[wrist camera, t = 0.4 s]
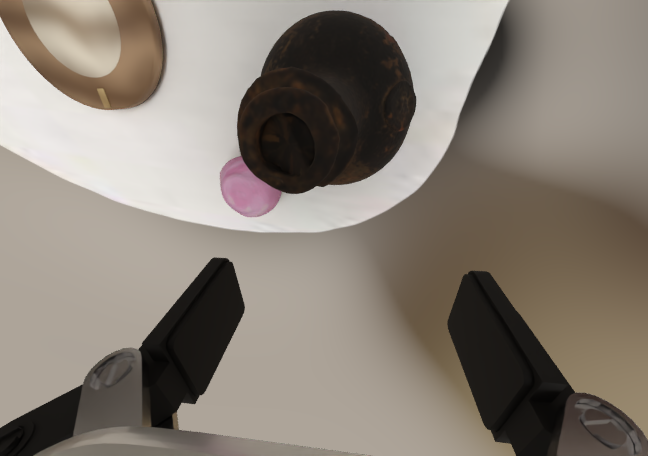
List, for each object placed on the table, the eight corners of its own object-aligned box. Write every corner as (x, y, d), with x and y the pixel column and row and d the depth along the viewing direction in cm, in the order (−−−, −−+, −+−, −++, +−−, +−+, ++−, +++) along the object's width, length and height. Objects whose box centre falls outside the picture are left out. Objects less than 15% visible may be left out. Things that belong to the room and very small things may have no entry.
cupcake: (236, 144, 39) (202, 161, 30) (290, 148, 38) (270, 166, 29) (243, 196, 43) (215, 223, 35) (291, 200, 43) (275, 229, 34)
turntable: (-34, -84, 28) (-61, -96, 26) (124, -101, 26) (106, -115, 24) (63, 109, 38) (48, 110, 36) (182, 108, 36) (172, 109, 34)
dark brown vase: (397, 167, 38) (468, 309, 14) (285, 169, 40) (178, 296, 16) (410, 18, 29) (685, -321, 5) (266, 33, 31) (-41, -147, 7)
